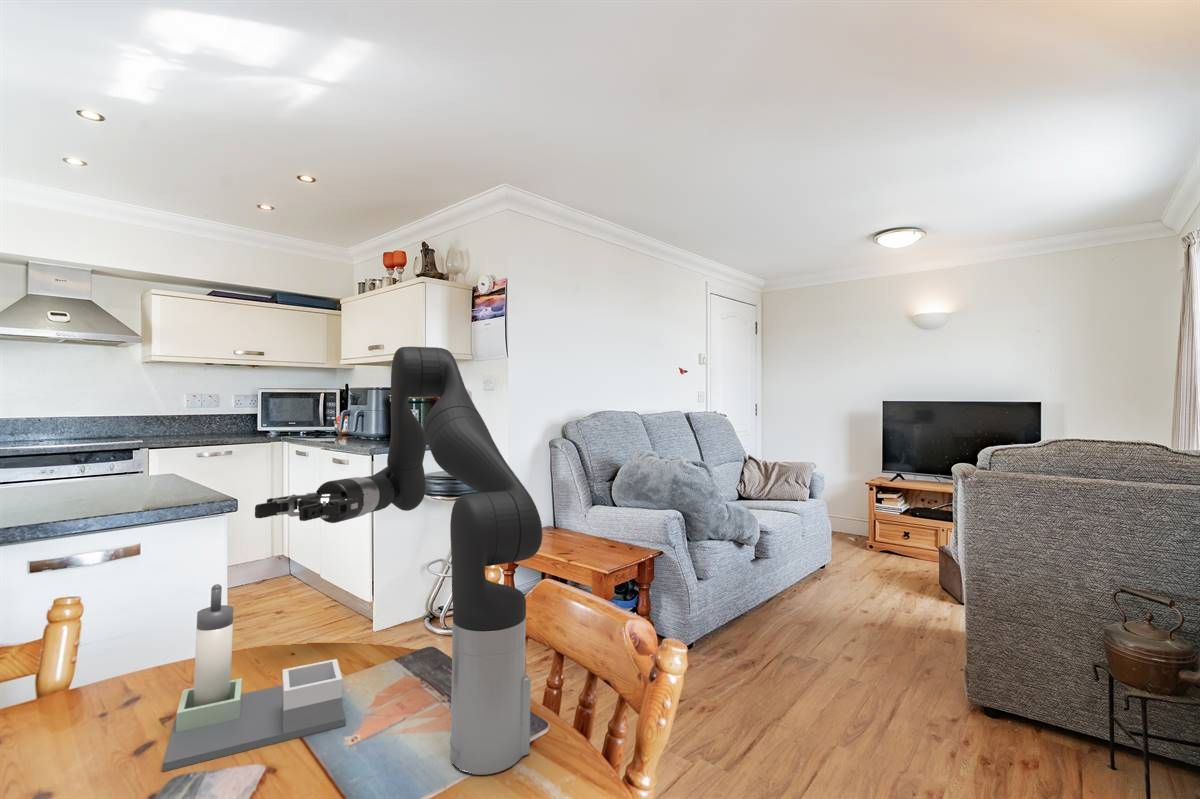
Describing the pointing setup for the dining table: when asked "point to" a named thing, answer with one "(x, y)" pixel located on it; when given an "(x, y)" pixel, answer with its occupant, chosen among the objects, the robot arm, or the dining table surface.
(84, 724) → the dining table surface
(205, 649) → the plug
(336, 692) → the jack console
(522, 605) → the robot arm
